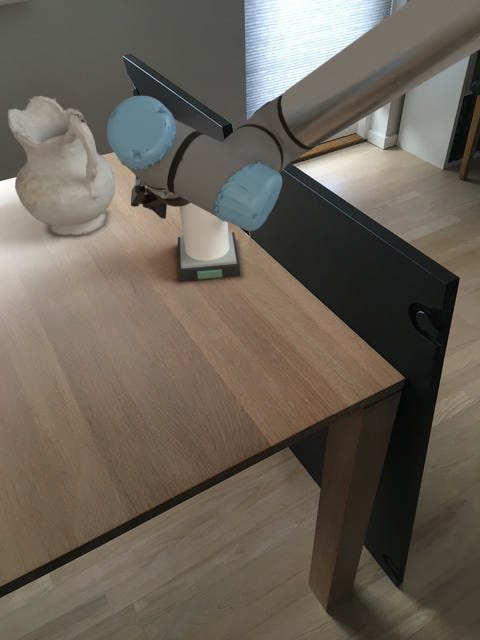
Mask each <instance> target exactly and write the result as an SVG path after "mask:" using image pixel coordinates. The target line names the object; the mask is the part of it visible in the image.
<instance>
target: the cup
mask: <svg viewBox="0 0 480 640" xmlns="http://www.w3.org/2000/svg"><path fill="white" fill-rule="evenodd" d="M179 214H180V221H181V229H182V236H183V237H184V245H185V251H186V254H187V255H188V256H189V257H191V258H193V259H195V260H200V261H210V260H215V259H218V258H220V257H222V256H224V255H225V254H226V253H227V252H228V250H229V234H228V232H229V222H226V221H222V220H221V219H218V217H216V216H214V215H213V214H211V213H209V212H207V211H205V210H203V209H202V208H200V207H198V206H196V205H194V204H193V203H190V204H187V205H185V206H180V207H179Z"/></svg>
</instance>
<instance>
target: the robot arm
mask: <svg viewBox="0 0 480 640" xmlns="http://www.w3.org/2000/svg"><path fill="white" fill-rule="evenodd" d="M479 50H480V0H409V1H408V2H406V3H405V4H404V5H402V6H400V7H399V8H398V9H396V10H395V11H393V12H392V13H391V14H390V15H388V16H387V17H386V18H384V19H383V20H381V21H380V22H379V23H377V24H376V25H374V26H372V28H370V29H369V30H367V31H366V32H365V33H364V34H363V33H362V35H361V36H360V37H358V38H356V39H355V40H354V41H352V42H351V43H350V44H349V45H347V46H346V47H343V49H341V50H340V51H339V52H337V53H336V54H334V55H333V56H332V57H330V58H329V59H328V60H326V61H324V62H323V63H322V64H321V65H318V67H317V68H315V69H314V70H312V71H311V72H310V73H308V74H307V75H305V76H304V77H303V78H302V79H300V80H298V81H297V82H296V83H294V84H293V85H292V86H290V87H289V88H287V89H286V90H285V91H284V92H283V93H281V94H280V95H278V96H277V97H275V98H273V99H271V100H269V101H266V102H265V103H264V104H263V105H261V106H260V107H259V108H257V109H256V111H254V112H253V114H252V115H251V116H250V117H248V118H247V119H246V120H245V121H244V122H243V123H242V124H241V125H240V126H238V127H237V128H236V129H234V131H232V132H231V133H230V134H229V135H228V136H227V137H226V138H225V139H223V140H222V141H220V140H217V139H215V138H213V137H211V136H209V135H208V134H205V133H203V132H201V131H198V130H196V129H194V128H193V127H191V126H189V125H187V124H185V123H183V122H181V121H179V120H177V119H175V117H174V114H173V112H171V111H170V109H169V108H168V107H166V106H165V105H164V104H163V103H162V102H161V101H160V100H158V99H157V98H154V97H152V96H149V95H135V96H134V95H133V96H130V97H129V98H126V99H124V100H123V101H121V102H120V103H119V104H118V105H117V106H115V108H114V109H113V111H112V112H111V113H110V115H109V118H108V120H107V125H106V138H107V143H108V145H109V147H110V148H111V150H112V152H113V153H114V154H115V155H116V158H117V160H118V161H119V162H120V164H121V165H122V166H124V167H126V168H127V169H128V170H129V171H130V172H131V173H132V174H133V175H135V183H134V185H133V187H132V189H131V197H130V206H131V207H134V208H136V207H139V206H140V205H142V207H143V208H144V209H148V210H150V211H152V212H154V213H155V214H156V215H157V216H158V217H159V218H160V219H163V220H166V219H167V209H168V208H167V207H168V206H170V207H175V208H177V207H178V208H180V206H185V205H187V204H190V203H193V204H194V205H196V206H198V207H200V208H202V209H203V210H205V211H207V212H209V213H211V214H213V215H214V216H216V217H218V219H221V220H222V221H226V222H228V224H231V225H234V226H236V227H238V228H240V229H241V230H244V231H248V232H253V231H256V230H258V229H259V228H260V227H261V226H262V225H263V224H264V223H265V222H266V221H267V219H268V217H269V215H270V214H271V212H273V209H274V207H275V205H276V203H277V201H278V198H279V195H280V193H281V190H282V188H283V187H282V186H283V176H282V175H281V172H282V171H283V170H284V169H285V168H286V167H287V166H288V165H289V164H290V163H292V162H294V161H295V160H297V159H298V158H300V157H302V156H303V155H305V154H307V153H308V152H310V151H312V150H313V149H314V148H316V147H317V146H319V145H320V144H322V143H324V142H326V141H327V140H329V139H331V138H333V137H334V136H336V135H338V134H339V133H341V132H342V131H344V130H347V128H349V127H351V126H353V125H354V124H356V123H357V122H359V121H361V120H363V119H365V118H367V117H368V116H370V115H371V114H373V113H375V112H377V111H378V110H380V109H381V108H383V107H385V106H386V105H388V104H390V103H391V102H393V101H395V100H397V99H399V98H400V97H402V96H403V95H405V94H406V93H409V92H410V91H412V90H413V89H415V88H417V87H419V86H420V85H422V84H424V83H425V82H427V81H429V80H430V79H432V78H434V77H436V76H437V75H439V74H440V73H442V72H444V71H445V70H447V69H449V68H451V67H453V66H454V65H456V64H457V63H459V62H461V61H463V60H464V59H466V58H468V57H469V56H471V55H473V54H474V53H476V52H478V51H479Z"/></svg>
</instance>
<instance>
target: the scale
mask: <svg viewBox="0 0 480 640" xmlns="http://www.w3.org/2000/svg"><path fill="white" fill-rule="evenodd" d="M228 234H229V250H228V252H227V253H226V254H225V255H224V256H222V257H220V258H218V259H215V260H210V261H200V260H195V259H193V258H191V257H189V256H188V255H187V254H186V251H185V245H184V237H183V235H179V236H178V237H177V268H178V277H179V282H187V281H199V280H209V279H211V280H212V279H220V278H231V277H240V276H241V265H240V260H239V253H238V245H237V240H236V235H235V232H234V231H232V230H230V231H229V230H228Z"/></svg>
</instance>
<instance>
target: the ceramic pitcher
mask: <svg viewBox="0 0 480 640" xmlns="http://www.w3.org/2000/svg"><path fill="white" fill-rule="evenodd" d="M56 99H57V98H56V97H53V98H50V97H48V96H44V95H39V96H32V98H30V99H28V101H29V102H28V103H27V105H26V107H25V109H23V110H22V109H21V110H20V109H18V108H12V109H11V108H10V109H7V122H8V127H9V129H10V130H11V132H12V134H13V136H14V138H15V140H16V141H17V142H18V143H19V144H20V145H21V147H22V148H23V150H24V152H25V155H26V159H27V160H26V163H25V164H24V165H23V166H22V167H21V168H20V170H19V171H18V172H17V175H16V178H15V181H14V182H15V183H14V189H15V191H16V194H17V196H18V199H19V201H20V203H21V204H22V206H23V208H24V209H25V210H26V211H27V212H28V214H30V215H31V216H32V217H33V218H34V219H36V220H38V221H39V222H42V223H44V224H46V225H49V226H50V227H49V228H50V230H51V231H52V232H53V233H54V234H55V235H56V236H80V235H89V234H90V233H92V232H94V231H95V230H97V229H99V228H101V227H102V226H103V225H104V224H105V221H106V216H107V213H106V210H107V209H108V208H109V207H110V205H111V203H112V201H113V199H114V196H115V193H116V189H115V188H116V178H115V177H116V176H115V173H114V169H113V166H112V165H111V163H110V162H109V160H107V159H106V158H105V156H103V155H101V154H100V153H98V152H97V145H96V141H95V138H94V135H93V133H92V131H91V129H90V128H89V126H88V124H87V123H88V121H87V119H86V118H85V117H84V114H83V113H81V112H80V110H79V109H75V108H63V107H62V106H61V105H60V104H59V103H58V101H57V100H56Z"/></svg>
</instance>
